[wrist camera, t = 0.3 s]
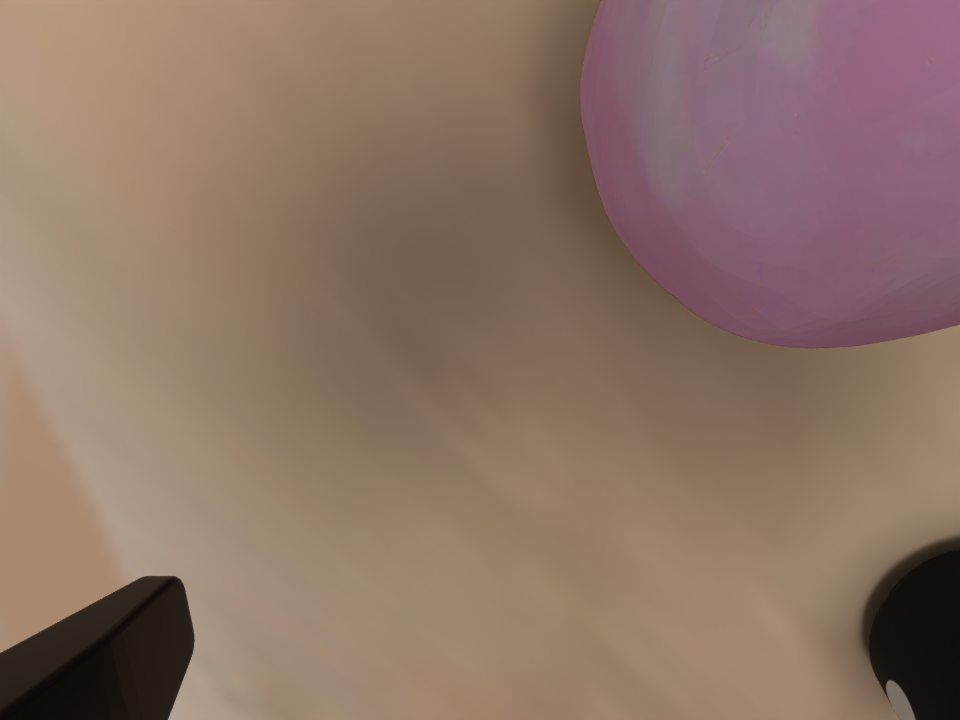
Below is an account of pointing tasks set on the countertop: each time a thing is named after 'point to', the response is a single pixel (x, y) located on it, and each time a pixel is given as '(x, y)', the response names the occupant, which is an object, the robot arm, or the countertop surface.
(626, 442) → the countertop surface
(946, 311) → the cupcake
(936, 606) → the beverage can
